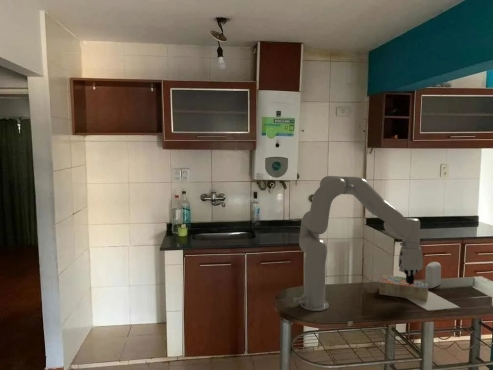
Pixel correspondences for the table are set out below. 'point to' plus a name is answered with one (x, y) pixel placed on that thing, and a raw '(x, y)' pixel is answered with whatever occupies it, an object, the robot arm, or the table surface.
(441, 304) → the mat
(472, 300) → the table surface
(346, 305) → the table surface
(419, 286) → the stack of blocks
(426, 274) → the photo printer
